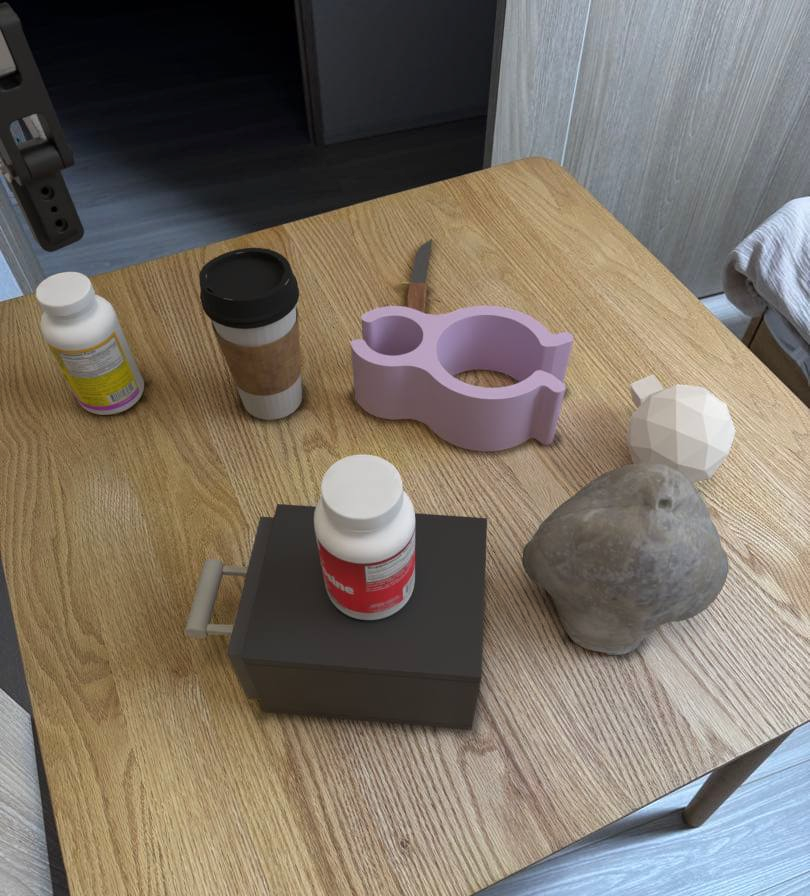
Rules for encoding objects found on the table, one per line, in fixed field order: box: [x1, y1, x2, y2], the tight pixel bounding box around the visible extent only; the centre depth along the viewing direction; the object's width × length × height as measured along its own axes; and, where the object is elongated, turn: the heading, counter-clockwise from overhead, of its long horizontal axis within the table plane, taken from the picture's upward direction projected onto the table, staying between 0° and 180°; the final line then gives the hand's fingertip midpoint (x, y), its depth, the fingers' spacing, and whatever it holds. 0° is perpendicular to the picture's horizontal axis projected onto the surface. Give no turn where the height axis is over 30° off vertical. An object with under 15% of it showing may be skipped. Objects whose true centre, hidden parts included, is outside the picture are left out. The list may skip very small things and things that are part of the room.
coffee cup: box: [198, 247, 303, 421], centre depth 69 cm, size 8×8×15 cm
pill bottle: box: [314, 453, 416, 620], centre depth 47 cm, size 6×6×11 cm
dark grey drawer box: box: [242, 503, 488, 731], centre depth 56 cm, size 16×13×10 cm
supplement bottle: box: [35, 271, 145, 416], centre depth 70 cm, size 7×7×13 cm
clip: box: [350, 304, 575, 453], centre depth 72 cm, size 20×12×7 cm, turn 77°
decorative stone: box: [521, 463, 730, 656], centre depth 56 cm, size 15×10×15 cm
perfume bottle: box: [625, 373, 737, 484], centre depth 67 cm, size 9×9×12 cm
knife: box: [400, 238, 433, 313], centre depth 84 cm, size 17×1×3 cm
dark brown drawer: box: [184, 516, 274, 701], centre depth 56 cm, size 19×11×8 cm, turn 85°
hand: (26, 204), depth 38 cm, fingers open, 8 cm apart
